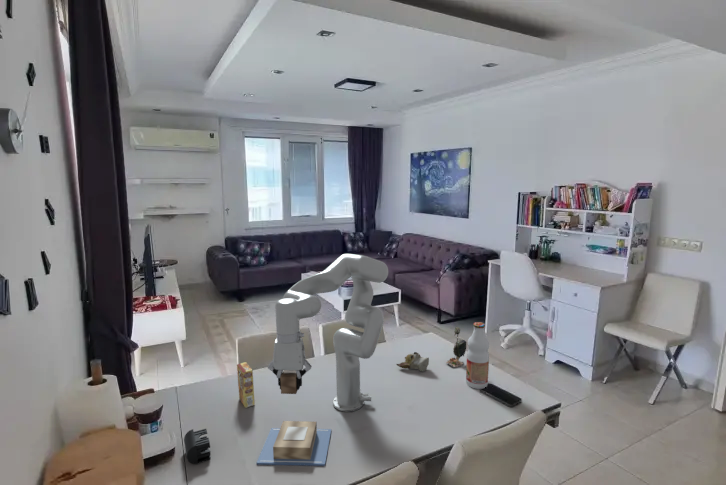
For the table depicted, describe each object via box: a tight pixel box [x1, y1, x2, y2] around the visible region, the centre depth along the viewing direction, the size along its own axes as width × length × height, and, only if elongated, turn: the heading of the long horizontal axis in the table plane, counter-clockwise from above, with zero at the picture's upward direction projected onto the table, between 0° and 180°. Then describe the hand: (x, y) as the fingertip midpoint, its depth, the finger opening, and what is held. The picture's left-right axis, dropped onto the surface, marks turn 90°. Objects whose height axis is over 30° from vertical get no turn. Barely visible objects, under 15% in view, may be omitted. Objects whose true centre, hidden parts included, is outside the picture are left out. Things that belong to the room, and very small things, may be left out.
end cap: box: [183, 428, 212, 465], centre depth 132 cm, size 10×7×7 cm
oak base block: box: [273, 420, 318, 459], centre depth 136 cm, size 12×14×5 cm
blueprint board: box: [256, 427, 332, 467], centre depth 136 cm, size 22×18×1 cm
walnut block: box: [280, 370, 299, 395], centre depth 133 cm, size 5×5×6 cm
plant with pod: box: [445, 326, 468, 368], centre depth 195 cm, size 8×11×20 cm
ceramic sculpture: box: [396, 351, 430, 373], centre depth 191 cm, size 11×9×15 cm
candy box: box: [236, 361, 256, 409], centre depth 162 cm, size 9×4×15 cm, turn 33°
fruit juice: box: [465, 321, 490, 390], centre depth 175 cm, size 9×9×28 cm
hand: (290, 387), depth 134 cm, fingers closed on walnut block, 5 cm apart
